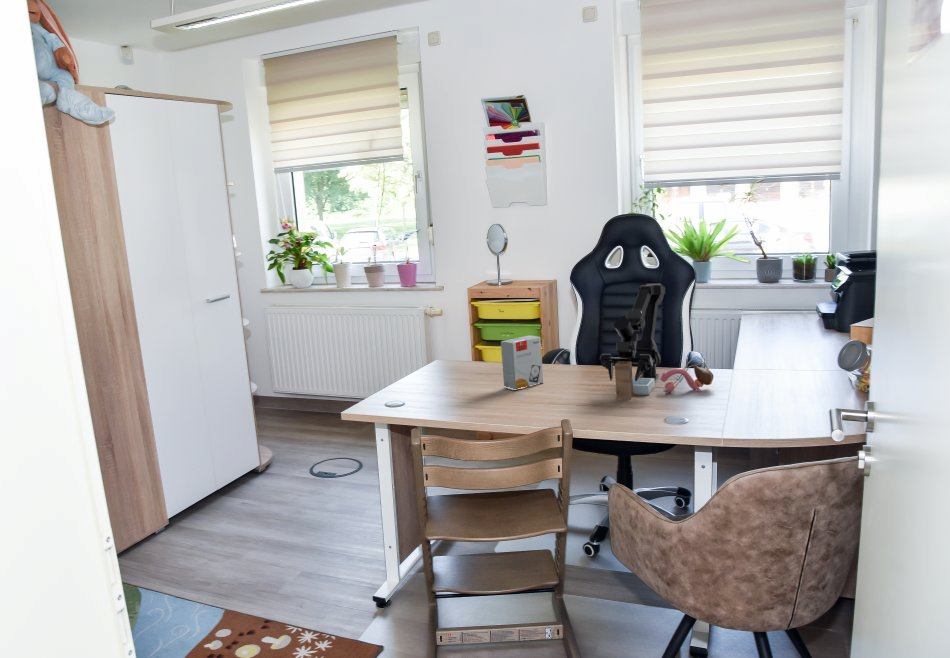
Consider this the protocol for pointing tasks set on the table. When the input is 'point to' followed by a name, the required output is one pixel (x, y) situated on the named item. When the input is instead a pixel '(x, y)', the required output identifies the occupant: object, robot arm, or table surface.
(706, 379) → the anatomy model
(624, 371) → the walnut block
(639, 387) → the bin
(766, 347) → the table surface
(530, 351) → the hard drive box
